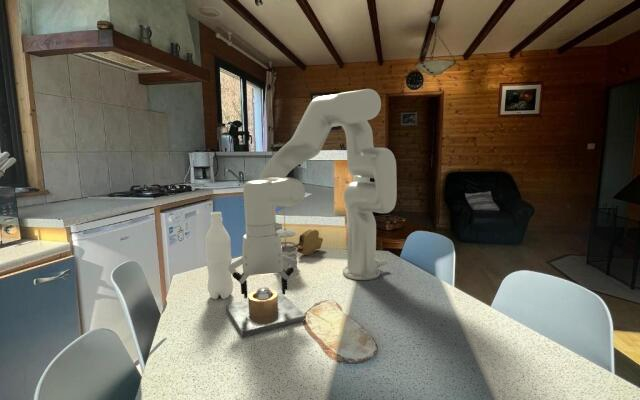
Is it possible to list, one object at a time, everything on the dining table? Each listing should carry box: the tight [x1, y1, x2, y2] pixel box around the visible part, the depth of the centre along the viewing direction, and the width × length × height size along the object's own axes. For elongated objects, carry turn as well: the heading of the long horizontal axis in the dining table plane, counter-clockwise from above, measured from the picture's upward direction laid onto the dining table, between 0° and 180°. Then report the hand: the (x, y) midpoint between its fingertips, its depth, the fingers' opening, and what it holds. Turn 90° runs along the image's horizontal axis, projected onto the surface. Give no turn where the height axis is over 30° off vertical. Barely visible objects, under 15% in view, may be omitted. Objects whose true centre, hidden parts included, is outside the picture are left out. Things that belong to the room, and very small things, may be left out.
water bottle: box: [204, 211, 234, 300], centre depth 102 cm, size 7×7×25 cm
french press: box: [273, 207, 301, 277], centre depth 121 cm, size 10×12×25 cm
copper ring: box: [247, 289, 278, 316], centre depth 91 cm, size 7×7×4 cm
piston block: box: [225, 286, 306, 339], centre depth 91 cm, size 16×16×7 cm
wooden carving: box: [295, 229, 324, 256], centre depth 143 cm, size 16×5×10 cm, turn 150°
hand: (264, 294), depth 91 cm, fingers open, 9 cm apart
